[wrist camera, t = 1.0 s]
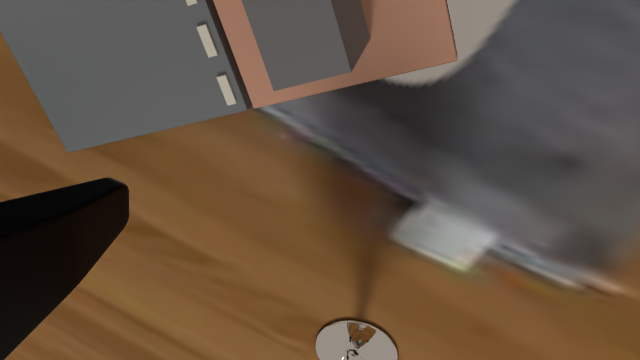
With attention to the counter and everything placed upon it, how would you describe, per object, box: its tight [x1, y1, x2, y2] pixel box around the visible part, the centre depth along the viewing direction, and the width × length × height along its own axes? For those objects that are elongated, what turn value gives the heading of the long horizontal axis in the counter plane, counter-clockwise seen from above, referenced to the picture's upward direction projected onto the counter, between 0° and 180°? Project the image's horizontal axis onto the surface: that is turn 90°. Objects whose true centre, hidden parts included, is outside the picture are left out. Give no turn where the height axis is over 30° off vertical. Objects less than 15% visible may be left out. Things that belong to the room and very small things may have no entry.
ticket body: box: [0, 0, 252, 153], centre depth 21 cm, size 9×8×1 cm
